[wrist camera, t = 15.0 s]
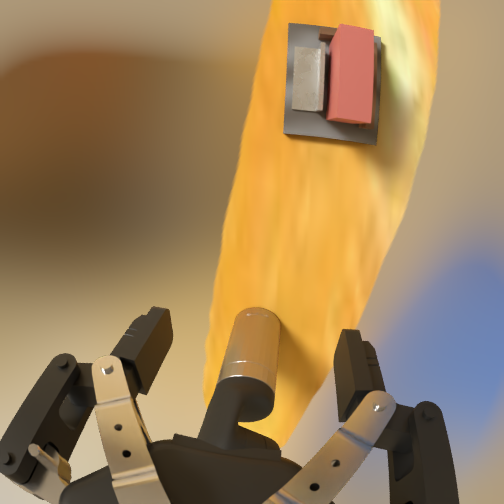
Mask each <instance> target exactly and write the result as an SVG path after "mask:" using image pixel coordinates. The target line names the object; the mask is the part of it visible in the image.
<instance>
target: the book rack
mask: <svg viewBox="0 0 504 504" xmlns="http://www.w3.org/2000/svg"><path fill="white" fill-rule="evenodd" d="M336 31H337V28H331V27H324V26H316V25H306V24H295V23H289V28H288V54H287V76H286V96H285V114H284V131H283V133H286V134H297V135H307V136H316V137H325V138H332V139H340V140H346V141H353V142H359V143H365V144H371V145H376V142H377V132H378V120H379V105H380V84H381V37H378V36H374V77H373V100H372V116H371V123H360V124H351V123H344V122H337V121H330V120H326V110H327V92H328V70H329V45H330V43H331V41H332V39H333V37H334V35H335V33H336ZM321 42H324V43H325V72H324V94H323V110H322V111H320V112H315V111H306V110H295V109H292V96H293V76H294V53H295V47H306V48H315V49H319V46H320V43H321Z"/></svg>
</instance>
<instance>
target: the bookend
mask: <svg viewBox="0 0 504 504" xmlns="http://www.w3.org/2000/svg"><path fill="white" fill-rule="evenodd" d="M324 72H325V43H324V42H321V43H320V46H319V49H315V48H306V47H295V53H294V76H293V96H292V109H295V110H306V111H315V112H320V111H322V110H323V94H324Z"/></svg>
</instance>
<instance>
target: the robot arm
mask: <svg viewBox="0 0 504 504" xmlns="http://www.w3.org/2000/svg"><path fill="white" fill-rule="evenodd" d="M280 330H281V325H280V321H279V319H278V318H277V317H276V315H274V314H273V313H272V312H270V311H268V310H266V309H262V308H249V309H246V310H243V311H242V312H240V313H239V314H238V315H237V317H236V319H235V322H234V325H233V329H232V332H231V335H230V339H229V342H228V346H227V349H226V353H225V356H224V360H223V363H222V367H221V370H220V374H219V377H218V381H217V384H216V388H215V391H214V394H213V397H212V399H211V401H210V404H209V406H208V409H207V412H206V415H205V418H204V421H203V424H202V427H201V429H200V432H199V435H198V438H192V437H188V436H183V435H179V434H174V437H173V440H170V439H169V440H160V441H156V442H152V441H151V439H150V436H149V434H148V432H147V429H146V427H145V424H144V421H143V418H142V415H141V413H140V410H139V407H138V404H137V401H136V397H137V395H138V393H141V394H144V395H147V393H148V391H149V389H150V387H151V385H152V383H153V381H154V379H155V377H156V375H157V373H158V371H159V369H160V367H161V364H162V363H163V361H164V358H165V356H166V355H167V353H168V351H169V349H170V347H171V344H172V341H173V330H172V324H171V317H170V311H169V309H165V308H160V307H155V306H153V307H152V308H151V309H150V311H149V312H148V314H147V315H141V316H140V317H138V318H137V319H135V320H134V321H133V322H132V324H131V325H130V327H129V329H127V331H126V332H125V335H123V337H122V338H121V339H120V341H119V343H118V344H117V345H116V347H115V348H114V350H113V351H112V353H111V354H110V355H106V356H102V357H99V358H98V359H96V360H95V361H94V363H77V361H76V359H75V357H74V356H73V355H71V354H66V353H64V354H60V355H58V356H56V357H55V358H53V360H52V361H51V362H50V364H49V365H48V366H47V368H46V369H45V371H44V372H43V374H42V375H41V376H40V378H39V379H38V381H37V382H36V384H35V385H34V387H33V388H32V390H31V391H30V393H29V394H28V396H27V397H26V399H25V401H24V402H23V404H22V405H21V407H20V408H19V410H18V412H17V413H16V415H15V417H14V419H13V420H12V422H11V423H10V425H9V427H8V428H7V430H6V432H5V434H4V435H3V437H2V439H1V441H0V472H1V473H2V474H3V475H5V476H6V477H7V478H9V479H10V480H11V481H12V482H13V483H14V484H16V485H17V486H19V487H20V488H22V489H23V490H25V491H27V492H29V493H31V494H33V495H34V496H36V497H38V498H39V499H42V500H46V501H47V502H49V503H51V504H335V503H334V502H333V501H332V500H333V499H334V498H335V496H336V495H337V494H338V493H339V492H340V491H341V489H342V488H343V487H344V486H345V485H346V483H347V482H348V481H349V480H350V478H351V477H352V476H353V475H354V473H355V472H356V471H357V469H358V468H359V467H360V465H361V464H362V463H363V461H364V460H365V458H366V457H367V455H368V454H369V453H370V451H371V450H372V448H373V447H376V448H380V449H385V450H387V452H388V467H389V486H390V504H459V498H458V489H457V482H456V475H455V469H454V464H453V458H452V453H451V449H450V444H449V440H448V435H447V431H446V426H445V422H444V419H443V415H442V411H441V409H440V408H439V407H438V406H437V405H436V404H434V403H432V402H429V401H424V402H420V403H419V404H417V406H416V407H415V408H413V407H408V406H403V405H399V404H397V403H396V402H395V400H394V398H393V397H392V396H391V395H390V394H388V393H387V392H386V390H385V386H384V382H383V378H382V374H381V370H380V367H379V363H378V360H377V355H376V352H375V349H374V348H373V346H372V345H371V344H370V343H369V342H368V341H362V339H361V335H360V331H359V330H352V329H343V330H342V332H341V335H340V338H339V341H338V344H337V348H336V351H335V354H334V373H335V384H336V394H337V404H338V417H339V422H346V423H345V424H344V425H343V426H342V427H341V428H339V429H338V430H337V432H335V434H334V435H333V436H332V437H331V438H330V439H329V440H328V442H327V443H326V444H325V445H324V446H323V447H322V448H321V449H320V450H319V452H318V453H317V454H316V455H315V456H314V457H313V458H312V459H311V460H310V461H309V462H308V463H307V464H306V465H305V466H304V467H303V468H302V467H301V466H300V465H298V464H296V463H295V462H293V461H291V460H289V459H286V458H283V457H281V450H280V448H279V446H278V444H277V443H276V442H275V441H274V440H272V439H270V438H268V437H266V436H263V435H261V434H258V433H256V432H254V431H251V430H249V429H246V428H244V427H241V426H239V425H238V422H254V421H259V420H262V419H264V418H266V417H267V416H269V415H270V413H271V412H272V410H273V407H274V399H275V389H276V377H277V366H278V354H279V342H280ZM63 401H64V402H63ZM94 407H95V413H96V418H97V423H98V427H99V432H100V436H101V440H102V444H103V448H104V451H105V455H106V459H107V462H108V466H106V467H104V468H101V469H100V470H97V471H95V472H93V473H91V474H89V475H87V476H85V477H82V478H80V479H78V480H76V481H73V482H71V483H70V480H71V467H70V464H69V463H68V461H69V458H70V456H71V454H72V452H73V449H74V447H75V445H76V443H77V441H78V439H79V437H80V435H81V432H82V430H83V428H84V426H85V424H86V422H87V420H88V418H89V416H90V414H91V412H92V410H93V408H94Z"/></svg>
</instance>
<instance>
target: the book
mask: <svg viewBox="0 0 504 504" xmlns="http://www.w3.org/2000/svg"><path fill="white" fill-rule="evenodd" d="M373 77H374V30H370V29H365V28H361V27H356V26H350V25H345V24H340V25H339V27H338V29H337V31H336V33H335V35H334V37H333V39H332V41H331V43H330V45H329V70H328V92H327V110H326V120H330V121H337V122H344V123H351V124H360V123H371V116H372V100H373Z"/></svg>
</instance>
